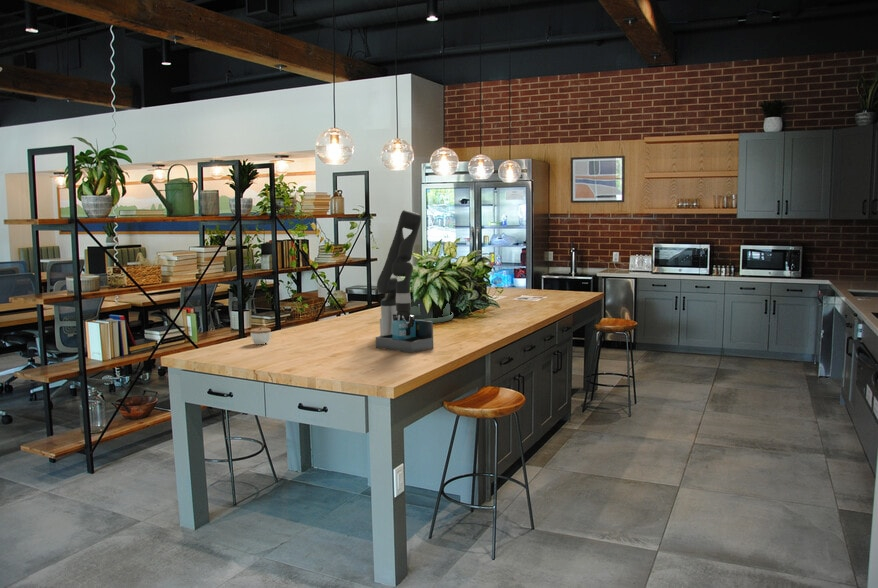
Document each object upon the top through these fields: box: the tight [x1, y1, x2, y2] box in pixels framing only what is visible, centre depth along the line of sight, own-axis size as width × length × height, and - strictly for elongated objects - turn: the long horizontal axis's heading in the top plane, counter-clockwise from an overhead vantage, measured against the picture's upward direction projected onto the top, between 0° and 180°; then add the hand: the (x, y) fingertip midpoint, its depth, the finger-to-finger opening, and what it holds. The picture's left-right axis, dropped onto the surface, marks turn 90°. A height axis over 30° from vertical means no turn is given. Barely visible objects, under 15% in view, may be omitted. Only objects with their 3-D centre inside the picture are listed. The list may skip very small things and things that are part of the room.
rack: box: [375, 320, 434, 354], centre depth 355 cm, size 25×16×14 cm, turn 50°
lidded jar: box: [249, 326, 272, 345], centre depth 376 cm, size 11×11×9 cm
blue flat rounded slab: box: [392, 320, 416, 340], centre depth 355 cm, size 12×4×12 cm, turn 134°
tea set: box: [410, 303, 454, 324], centre depth 449 cm, size 40×40×16 cm
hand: (404, 334), depth 355 cm, fingers open, 5 cm apart
